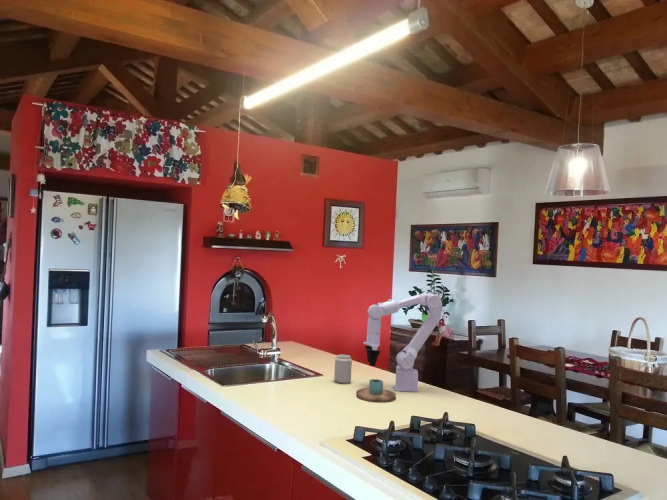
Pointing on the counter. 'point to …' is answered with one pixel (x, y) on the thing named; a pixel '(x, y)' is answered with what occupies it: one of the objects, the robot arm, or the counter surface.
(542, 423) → the counter surface
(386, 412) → the counter surface
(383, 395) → the stand
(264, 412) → the counter surface
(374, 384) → the collar
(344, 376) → the can
